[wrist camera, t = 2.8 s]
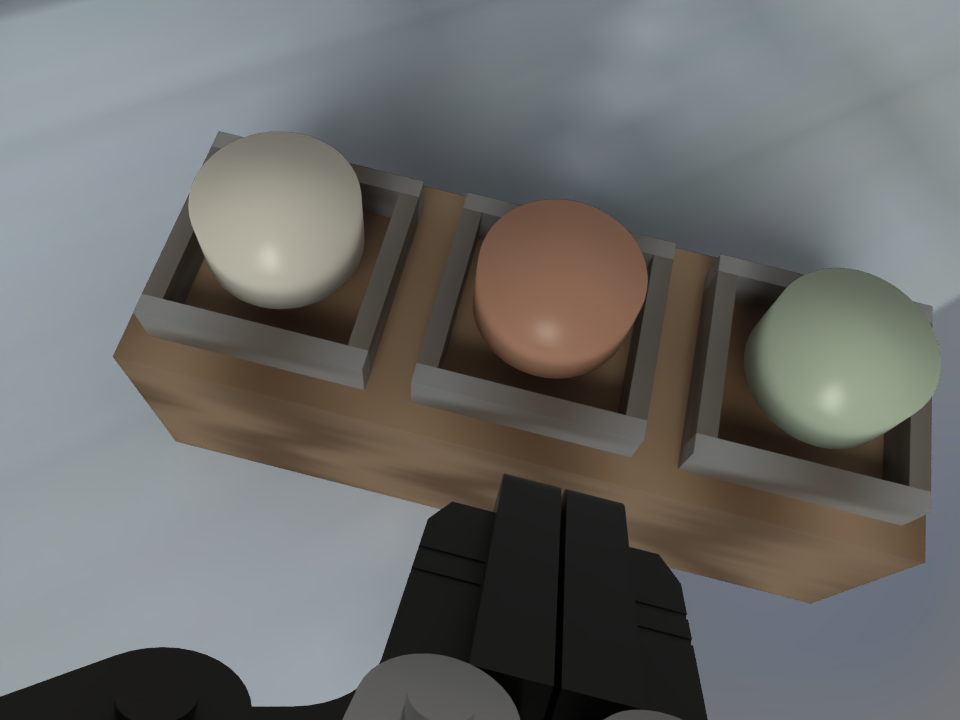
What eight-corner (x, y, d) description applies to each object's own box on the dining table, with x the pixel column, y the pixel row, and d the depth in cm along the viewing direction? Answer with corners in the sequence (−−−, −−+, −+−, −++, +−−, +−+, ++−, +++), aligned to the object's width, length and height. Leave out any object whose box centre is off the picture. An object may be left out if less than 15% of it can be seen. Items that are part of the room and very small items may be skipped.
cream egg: (180, 286, 24) (161, 248, 22) (237, 159, 26) (224, 114, 24) (337, 326, 24) (332, 291, 22) (383, 195, 26) (381, 153, 24)
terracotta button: (455, 356, 24) (459, 323, 22) (492, 222, 26) (499, 182, 24) (615, 396, 24) (633, 367, 22) (641, 259, 26) (658, 221, 24)
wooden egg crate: (176, 441, 31) (96, 333, 23) (253, 254, 35) (207, 104, 27) (810, 603, 31) (956, 551, 23) (824, 396, 34) (955, 286, 26)
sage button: (735, 426, 23) (763, 399, 22) (751, 286, 25) (778, 250, 24) (899, 467, 23) (940, 443, 22) (902, 323, 25) (941, 290, 23)
